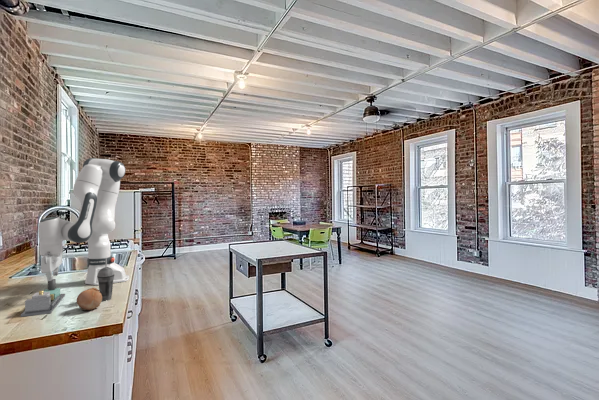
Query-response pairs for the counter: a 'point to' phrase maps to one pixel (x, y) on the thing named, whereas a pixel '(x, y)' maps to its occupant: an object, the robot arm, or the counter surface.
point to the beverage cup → (106, 282)
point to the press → (41, 305)
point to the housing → (41, 294)
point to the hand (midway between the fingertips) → (53, 277)
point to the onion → (89, 299)
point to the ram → (53, 289)
